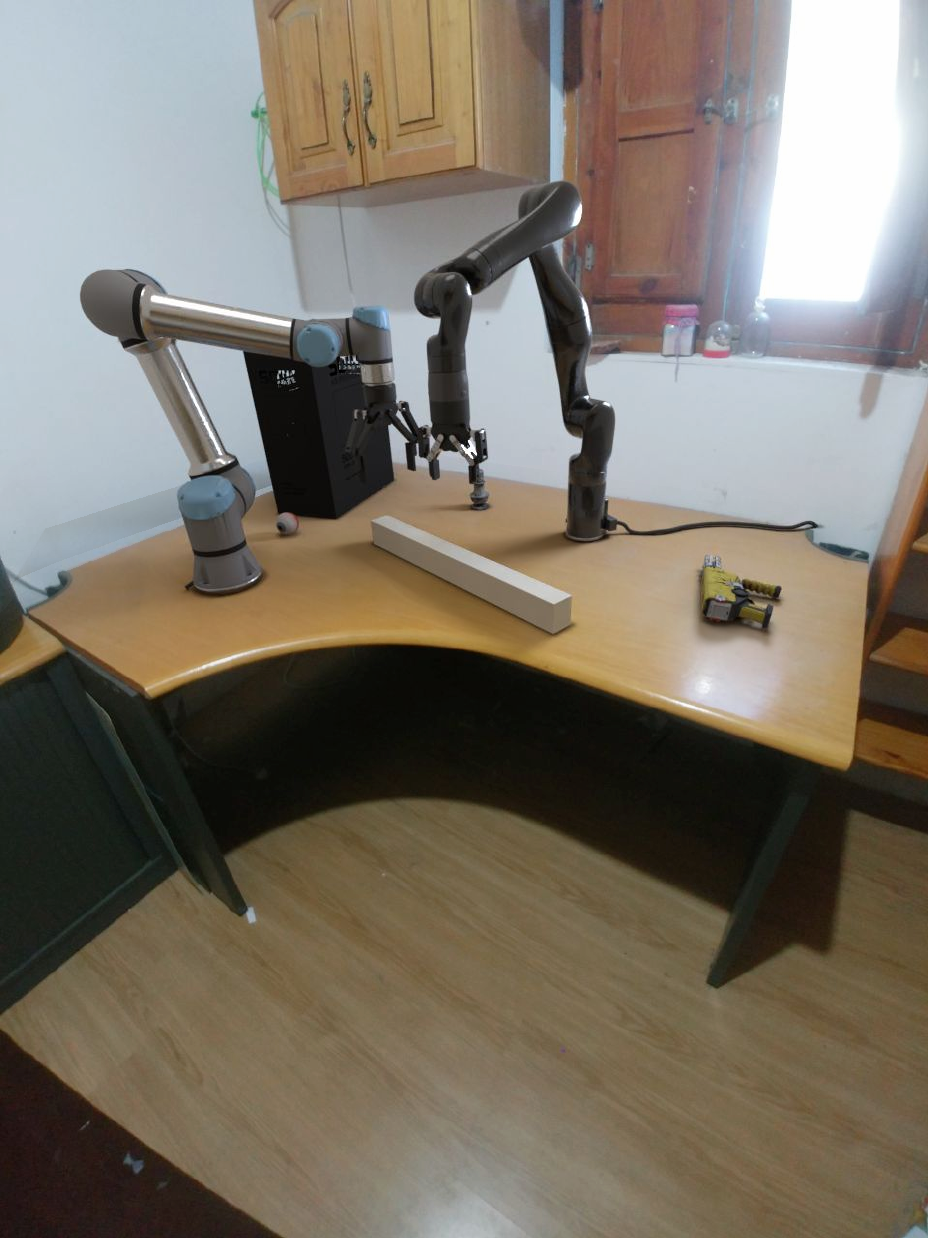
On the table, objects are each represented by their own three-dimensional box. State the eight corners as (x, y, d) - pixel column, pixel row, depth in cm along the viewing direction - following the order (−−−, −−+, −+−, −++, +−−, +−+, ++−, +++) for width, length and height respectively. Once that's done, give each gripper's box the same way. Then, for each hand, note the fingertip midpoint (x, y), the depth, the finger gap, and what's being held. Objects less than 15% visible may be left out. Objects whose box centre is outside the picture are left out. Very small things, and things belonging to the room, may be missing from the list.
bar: (570, 624, 116) (572, 595, 113) (552, 634, 114) (553, 604, 110) (389, 538, 159) (387, 515, 156) (373, 543, 156) (370, 520, 153)
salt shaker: (488, 509, 173) (486, 468, 167) (468, 509, 175) (466, 468, 169) (491, 503, 178) (490, 462, 172) (471, 502, 180) (470, 462, 174)
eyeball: (273, 537, 164) (268, 516, 161) (287, 528, 169) (282, 508, 166) (291, 539, 161) (286, 518, 158) (305, 530, 166) (301, 510, 163)
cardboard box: (342, 476, 210) (320, 334, 188) (394, 479, 204) (377, 333, 181) (277, 513, 180) (242, 349, 158) (336, 518, 174) (308, 348, 151)
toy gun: (779, 564, 127) (705, 551, 131) (794, 614, 107) (705, 598, 111) (772, 584, 129) (699, 571, 133) (786, 637, 109) (699, 620, 113)
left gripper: (414, 374, 144) (421, 462, 155) (320, 389, 131) (335, 484, 142) (432, 376, 139) (439, 467, 150) (337, 392, 126) (351, 491, 137)
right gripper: (492, 393, 112) (494, 479, 120) (426, 391, 118) (433, 472, 126) (473, 401, 106) (477, 490, 114) (405, 398, 112) (414, 483, 121)
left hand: (388, 476), depth 146 cm, fingers open, 13 cm apart
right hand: (454, 481), depth 120 cm, fingers open, 8 cm apart
